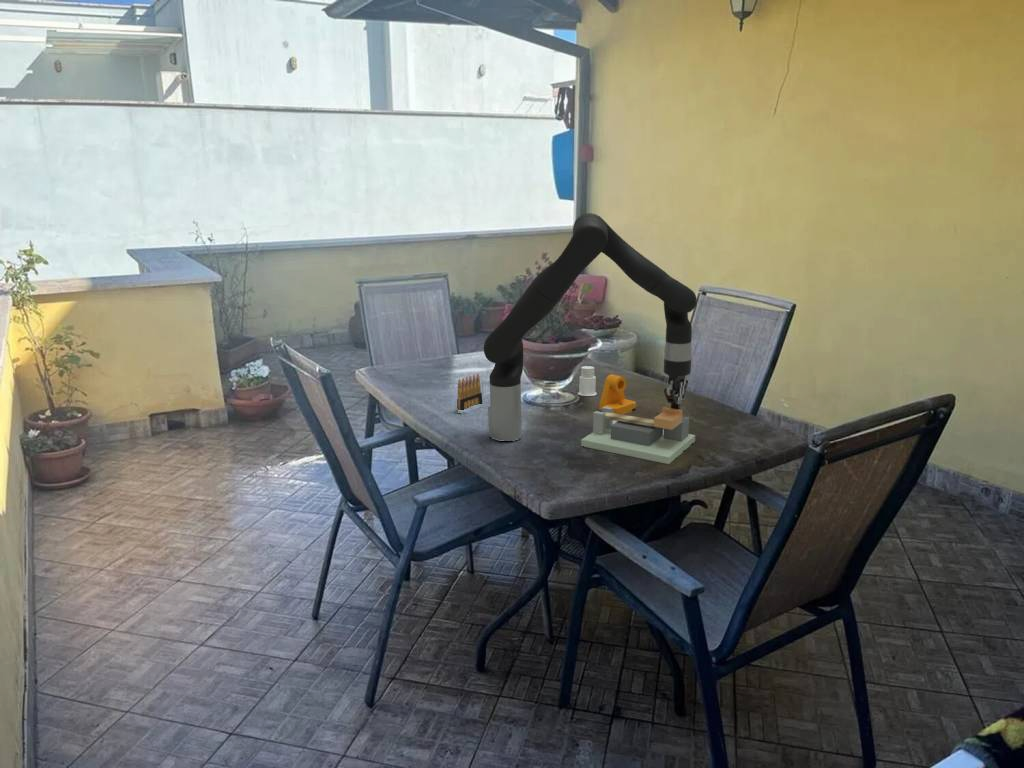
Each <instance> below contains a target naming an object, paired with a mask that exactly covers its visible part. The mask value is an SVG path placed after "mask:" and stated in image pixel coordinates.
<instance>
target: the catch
mask: <svg viewBox="0 0 1024 768" xmlns="http://www.w3.org/2000/svg"><path fill="white" fill-rule="evenodd" d="M682 416H683V410H682V409H680V410H679V409H673V408H671V407H667V406H663V407H662V410H661V412H660V413H659V414H658V415H656V416H655V417H653V420H654V426H655V427H660V428H663V429H664V428H666V429H671V430H673V429H674V428H675V427H676V426H678V425H679V424H680V423H682Z"/></svg>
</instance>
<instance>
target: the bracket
mask: <svg viewBox="0 0 1024 768" xmlns="http://www.w3.org/2000/svg"><path fill="white" fill-rule="evenodd" d="M626 387H627V380H626V378H625V377H624V376H620V375H617V374H611V373H610V374H609V375H608V376H606V379H605V381H604V385H603V389H602V393H601V397H600V400H599V404H598V407H599V408H598V410H599V411H602V407H604V406H605V407H611V408H613V413H615V414H621V415H626V414H629V413H632V412H633V410H634V409H636V407H637V401H634V400H630V399H627V398H626V395H625V389H626Z"/></svg>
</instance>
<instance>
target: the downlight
mask: <svg viewBox="0 0 1024 768" xmlns="http://www.w3.org/2000/svg"><path fill="white" fill-rule="evenodd" d="M580 369H581V371H580V372H581V374H580V375H579V381H578V383H579V386H578V387H579V388H578V389H579V391H577V395H579V396H582V397H593V396H597V395H598V393H597V392H596V387H597V386H596V383H597V381H596V380H597V379H596V378H597V377H596V376H595V367H594V366H589V365H585V366H584V365H583V366H581V368H580Z"/></svg>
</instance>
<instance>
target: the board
mask: <svg viewBox="0 0 1024 768" xmlns="http://www.w3.org/2000/svg"><path fill="white" fill-rule="evenodd" d="M604 411H607V412H609V413H613V408H611V407H605V406H604V407H602V410H601V411H600V410H599V411H597V410H595V411H594V412H593V413H592V414H593V415H592V417H593V418H592V419H593V421H592V425H593V426H592V428H593V431H592V432H591V433H589V434H588V435H586V436H585V437H583V438H581V440H580V442H581V444H580V446H581V447H583V446H584V447H585V448H588V449H589V448H590V449H593V450H598V451H603V452H607V453H611V454H612V453H614V454H616V455H617V454H618V455H622V456H627V457H632V458H638V459H642V460H647V461H650V462H657V463H661V464H666V465H669V464H671V463H672V462H673V461H675V460H676V459H677V458H678V457H679V456H680V455H682V454H683V453H684V452H685V451H686V450H687V449H688V448H689V447H691V446H692V445H693V444H694V443H696V435H695V434H691V433H689V432H690V417H689V416H683V415H682V423H680V424H679V425H678V426H676V427H675V428H674V429H673V430H670V429H664V428H658V427H652V426H646V425H640V424H634V423H628V422H622V421H616V420H610V419H605V413H604ZM692 443H693V444H692ZM691 444H692V445H691ZM684 450H685V451H684ZM683 451H684V452H683ZM675 458H676V459H675Z"/></svg>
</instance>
